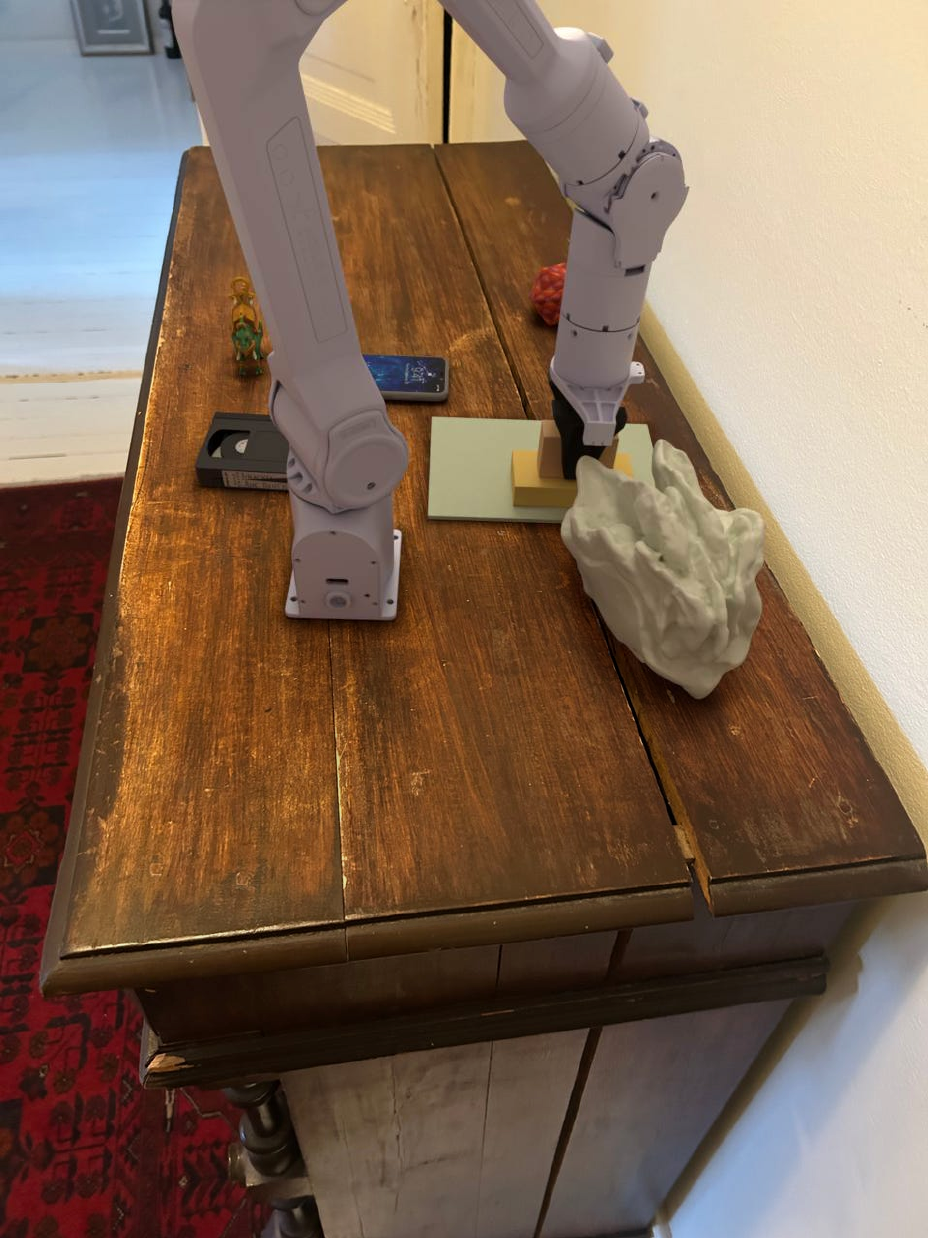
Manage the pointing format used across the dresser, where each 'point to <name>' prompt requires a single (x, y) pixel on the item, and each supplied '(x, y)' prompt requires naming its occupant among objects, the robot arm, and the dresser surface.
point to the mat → (501, 468)
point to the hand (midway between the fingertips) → (574, 466)
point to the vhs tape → (243, 453)
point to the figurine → (245, 325)
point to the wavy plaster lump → (668, 567)
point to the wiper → (553, 471)
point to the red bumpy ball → (549, 292)
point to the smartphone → (409, 376)
